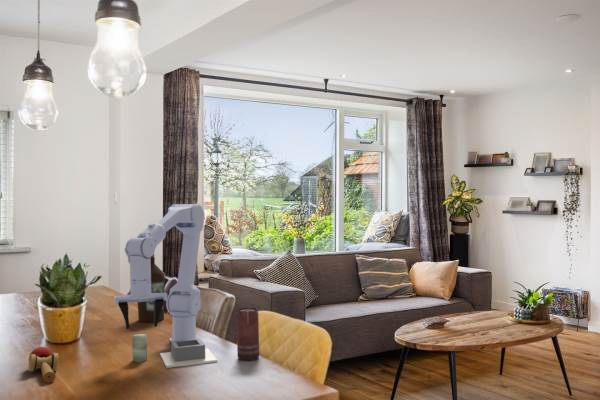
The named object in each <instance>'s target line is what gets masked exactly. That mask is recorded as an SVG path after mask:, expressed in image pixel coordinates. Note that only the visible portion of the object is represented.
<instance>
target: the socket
mask: <svg viewBox="0 0 600 400" xmlns="http://www.w3.org/2000/svg"><path fill="white" fill-rule="evenodd" d="M159 356H160V358H161V360H162V362H163V364H164V366H165V369H166V368H167V369H168V368H169V369H170V368H176V367H185V366H186V367H187V366H194V365H203V364H211V363H218V359H217V358H216V356H215V355H214V354H213V353H212V352H211V350H210V349H209V348H208V347H206V344H205V343H204V342H203V341H202V339H201V338H196V339H189V340H180V341H170V351H169V352H168V351H167V352H160V353H159Z"/></svg>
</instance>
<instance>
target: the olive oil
mask: <svg viewBox="0 0 600 400" xmlns="http://www.w3.org/2000/svg"><path fill="white" fill-rule="evenodd" d="M155 259H156V257H155V253H154V254H153V256H151V293H166V291H165V288H166V286H165V283H166V277H165V273H164V272H163V270H161V269H160V268H159V267H158V265H156V262H155ZM143 300H144V299H143ZM137 315H138V316H137V317H138V321H139V322H141V323H154V303H153V301H145V302H137ZM164 319H165V304H164V305H163V307H162V309H161V312H160V315H159V318H158V322H160V321H163V320H164Z"/></svg>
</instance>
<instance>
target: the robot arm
mask: <svg viewBox="0 0 600 400" xmlns="http://www.w3.org/2000/svg"><path fill="white" fill-rule="evenodd" d="M204 219H205V212H204V209H203V207H202V206H201V204H200V203H190V204H186V203H183V204H176V203H172V205H171V206H170V207H168V209H167V213H166V214H165V215H164V216H163V217H162V219H161V220H159V221H158V223H154V222H153V223H149V224H148V225H147V228H145V229H144V230H143V231H142V232H140V233H139V234H138V235H137V236H136V237H130V239H128V240H127V242H126V243H125V247H124V253H125V254H126V257H127V262H128V264H129V283H130V284H129V285H130V287H129V288H130V294H125V295H115V296H114V297H113V304H114V305H117V306H118V308H119V309H120V311H121V313H122V316H123V319H124V324H125V328H126V330H130V320H129V304H131V303H138V302H145V301H153V303H154V322H153V326H154V327H155V328H156V327H158V322H159V321H158V318H159V315H160V312H161V309H162V307H163V305H164V306H166V307H165V308H166V309H167V312H168V313H170V314H169V315H170V316H171V317H172V321H171V322H172V328H171V329H172V337H170V338H169V342H171V341H180V340H189V339H197V335H196V334H197V333H196V332H197V331H196V328H197V327H196V325H197V324H196V322H197V321H196V315H198V313H199V311H200V309H201V306H202V299H201V290H200V289H199V288H198V287H197V286H196V285H195V277H196V270H197V262H198V255H199V254H198V253H199V246H200V241H201V240H200V239H201V232H202V231H203V227H204ZM173 227H175V228H176V229H177V230H178V231H180V232H181V233H182V235H183V237H182V244H181V250H180V251H181V253H180V259H179V268H178V275H177V280H176V281H177V282H176V283H175V284H174V285H173V286H172V287H171V288H170V289H169V292H168V293H167V292H164V293H151V256H153V254H154V255H155V251H156V249H157V246H158V245H159V244H160V243H161V242H163V241H164V240H165V238H166V236H167V232H168V231H169V230H171V229H172V228H173ZM143 299H144V300H143Z"/></svg>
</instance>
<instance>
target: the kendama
mask: <svg viewBox="0 0 600 400" xmlns="http://www.w3.org/2000/svg"><path fill="white" fill-rule="evenodd" d="M58 368H59V353H57V352H52V351H51V350H50V348H48V347H46V346H39V347H36V348H34V349H33V350H31V352H30V354H29V357H28V371H29V372H34V371H35V370H41V375H42V380H43V381H44V382H45V383H47V384H49V383H53V382H54V381H55V379H56V374H55V372H57V370H58Z"/></svg>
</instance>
